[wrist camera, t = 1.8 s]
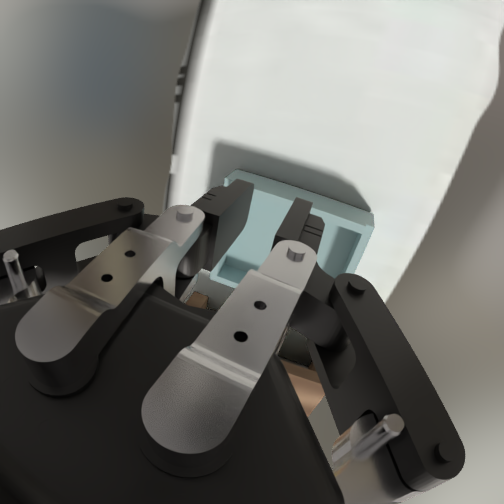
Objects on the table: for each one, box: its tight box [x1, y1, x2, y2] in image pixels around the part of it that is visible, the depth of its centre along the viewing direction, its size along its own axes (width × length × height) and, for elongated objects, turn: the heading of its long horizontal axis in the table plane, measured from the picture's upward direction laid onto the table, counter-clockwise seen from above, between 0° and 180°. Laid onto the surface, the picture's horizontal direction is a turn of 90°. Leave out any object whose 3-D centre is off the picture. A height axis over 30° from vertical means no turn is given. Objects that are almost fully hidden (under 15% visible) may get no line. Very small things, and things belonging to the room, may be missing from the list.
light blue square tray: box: [210, 169, 374, 288], centre depth 31 cm, size 12×14×4 cm
